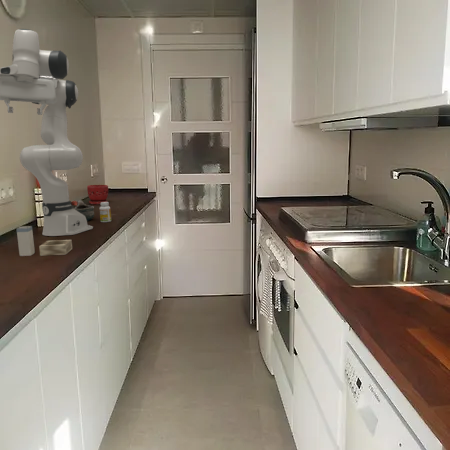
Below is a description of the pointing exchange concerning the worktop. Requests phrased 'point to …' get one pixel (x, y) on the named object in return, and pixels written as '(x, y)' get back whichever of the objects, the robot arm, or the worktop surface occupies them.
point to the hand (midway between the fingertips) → (25, 113)
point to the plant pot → (97, 197)
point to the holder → (55, 247)
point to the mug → (85, 210)
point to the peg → (25, 241)
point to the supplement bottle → (105, 212)
